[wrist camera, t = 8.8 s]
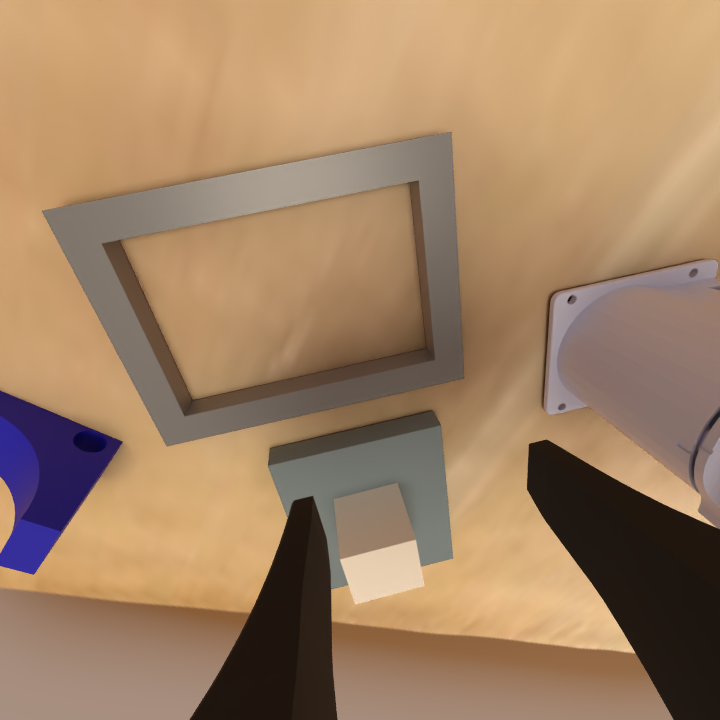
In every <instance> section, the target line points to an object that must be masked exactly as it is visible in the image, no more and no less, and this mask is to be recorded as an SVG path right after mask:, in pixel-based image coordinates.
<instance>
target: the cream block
mask: <svg viewBox="0 0 720 720" xmlns="http://www.w3.org/2000/svg"><path fill="white" fill-rule="evenodd" d="M334 507H335V517H336V527H337V536H338V546H339V556H340V561H341V564H342V567H343V570H344V573H345V576H346V579H347V582H348V585H349V588H350V591H351V594H352V597H353V599H354V602H355V604H359V603H363V602H367V601H370V600H374V599H378V598H381V597H385V596H389V595H393V594H396V593H400V592H404V591H408V590H411V589H415V588H419V587H422V586H424V581H423V576H422V570H421V565H420V559H419V554H418V549H417V543H416V539H415V536H414V532H413V529H412V526H411V523H410V520H409V517H408V514H407V511H406V507H405V504H404V501H403V498H402V495H401V492H400V489H399V485H398V483H395V484H391V485H387V486H383V487H379V488H375V489H371V490H368V491H364V492H360V493H356V494H352V495H348V496H344V497H340V498H336V499H334Z"/></svg>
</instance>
